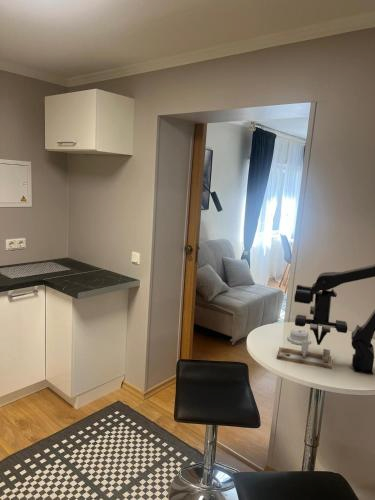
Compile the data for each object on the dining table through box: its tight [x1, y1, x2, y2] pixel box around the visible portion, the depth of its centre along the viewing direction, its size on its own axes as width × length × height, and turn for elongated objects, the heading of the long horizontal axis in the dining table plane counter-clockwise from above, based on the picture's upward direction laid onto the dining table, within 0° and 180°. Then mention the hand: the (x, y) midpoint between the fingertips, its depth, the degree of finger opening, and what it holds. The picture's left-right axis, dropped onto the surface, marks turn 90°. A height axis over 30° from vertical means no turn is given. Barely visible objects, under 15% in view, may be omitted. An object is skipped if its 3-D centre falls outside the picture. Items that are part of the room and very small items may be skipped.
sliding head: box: [300, 340, 310, 358], centre depth 145 cm, size 2×6×5 cm, turn 160°
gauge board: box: [276, 346, 333, 370], centre depth 145 cm, size 20×9×4 cm, turn 70°
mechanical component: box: [287, 328, 312, 346], centre depth 163 cm, size 10×4×10 cm
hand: (318, 344), depth 144 cm, fingers closed
